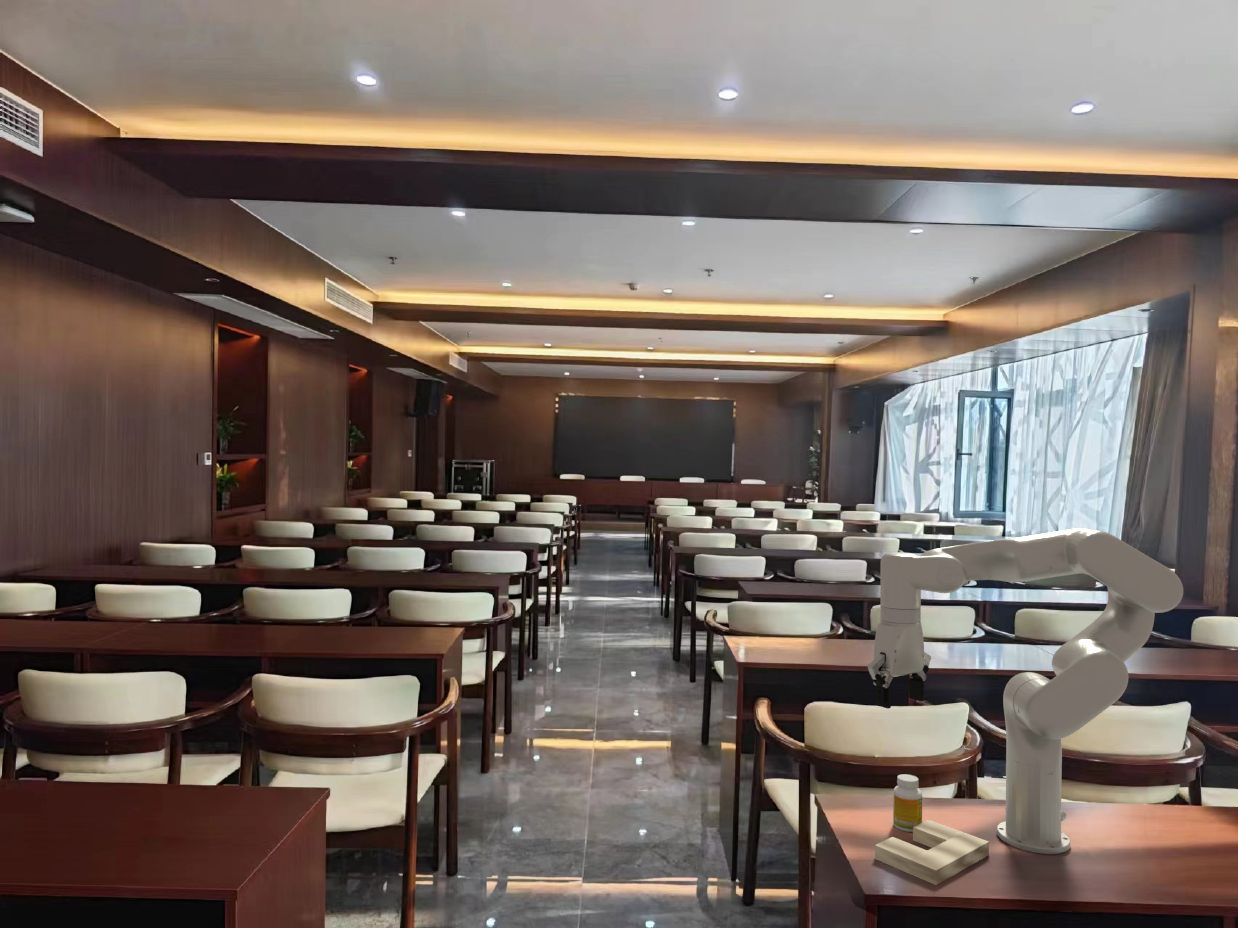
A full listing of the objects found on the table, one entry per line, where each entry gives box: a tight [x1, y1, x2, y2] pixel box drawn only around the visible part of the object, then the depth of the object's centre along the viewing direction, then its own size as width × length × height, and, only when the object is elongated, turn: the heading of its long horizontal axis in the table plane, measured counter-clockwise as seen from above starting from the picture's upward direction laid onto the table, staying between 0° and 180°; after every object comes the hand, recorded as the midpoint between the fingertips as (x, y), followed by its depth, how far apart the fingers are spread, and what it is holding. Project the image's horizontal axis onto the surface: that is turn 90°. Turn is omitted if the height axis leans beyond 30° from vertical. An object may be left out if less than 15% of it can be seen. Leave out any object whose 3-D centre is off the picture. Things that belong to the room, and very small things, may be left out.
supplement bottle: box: [892, 773, 923, 833], centre depth 164 cm, size 5×5×10 cm
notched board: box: [874, 819, 990, 886], centre depth 151 cm, size 18×12×2 cm, turn 129°
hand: (900, 703), depth 162 cm, fingers open, 9 cm apart
